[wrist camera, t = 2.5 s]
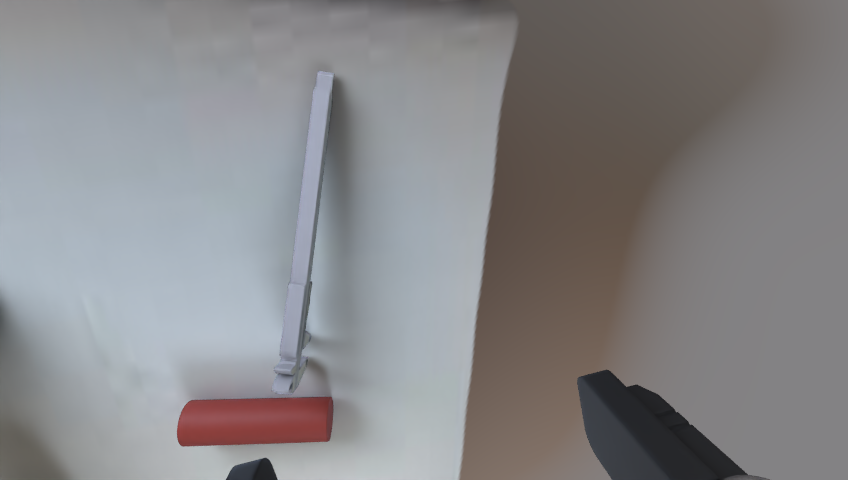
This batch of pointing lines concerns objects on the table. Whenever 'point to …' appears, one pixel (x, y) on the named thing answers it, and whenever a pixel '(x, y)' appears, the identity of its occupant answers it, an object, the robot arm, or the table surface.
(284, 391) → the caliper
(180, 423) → the red rod
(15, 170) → the table surface
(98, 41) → the table surface
